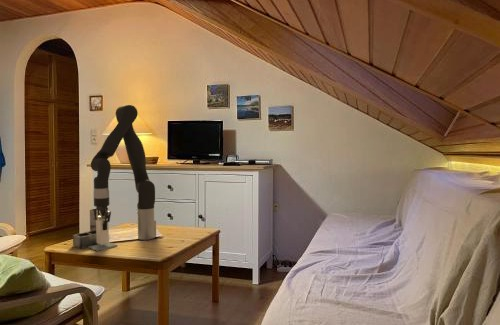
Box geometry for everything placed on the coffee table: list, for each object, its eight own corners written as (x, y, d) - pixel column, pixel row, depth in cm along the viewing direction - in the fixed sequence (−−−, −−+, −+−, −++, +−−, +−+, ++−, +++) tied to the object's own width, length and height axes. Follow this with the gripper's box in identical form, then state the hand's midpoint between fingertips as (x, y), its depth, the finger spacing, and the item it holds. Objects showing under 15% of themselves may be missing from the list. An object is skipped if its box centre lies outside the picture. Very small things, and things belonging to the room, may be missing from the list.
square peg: (104, 241, 202) (103, 218, 201) (108, 242, 199) (108, 220, 198) (96, 243, 198) (95, 220, 197) (101, 244, 196) (100, 221, 195)
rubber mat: (108, 243, 206) (108, 241, 206) (117, 246, 200) (117, 244, 200) (88, 247, 197) (88, 246, 197) (97, 251, 192) (97, 249, 192)
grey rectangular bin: (98, 240, 212) (97, 229, 211) (105, 242, 206) (105, 232, 206) (73, 246, 201) (72, 234, 200) (80, 249, 196) (80, 237, 195)
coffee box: (100, 238, 215) (99, 210, 214) (89, 237, 216) (89, 209, 215) (109, 234, 224) (108, 207, 223) (99, 233, 225) (98, 206, 224)
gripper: (115, 197, 195) (116, 230, 196) (101, 194, 204) (102, 225, 205) (101, 199, 189) (102, 233, 191) (87, 196, 198) (88, 228, 200)
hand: (102, 229), depth 198 cm, fingers closed on square peg, 4 cm apart
